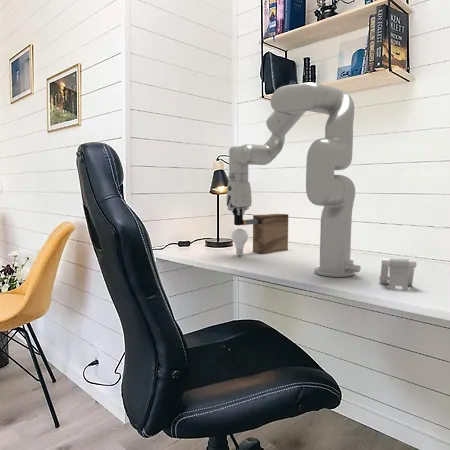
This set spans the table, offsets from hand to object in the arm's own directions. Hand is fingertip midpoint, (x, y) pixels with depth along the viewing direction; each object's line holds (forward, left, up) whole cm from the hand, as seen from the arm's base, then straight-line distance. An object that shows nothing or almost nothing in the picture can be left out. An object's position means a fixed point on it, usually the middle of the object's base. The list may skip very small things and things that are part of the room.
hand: (238, 224), depth 169 cm
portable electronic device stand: (-66, +3, -13) cm, 67 cm away
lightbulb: (0, -1, -13) cm, 13 cm away
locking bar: (0, -14, 0) cm, 14 cm away
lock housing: (0, -20, -13) cm, 23 cm away
